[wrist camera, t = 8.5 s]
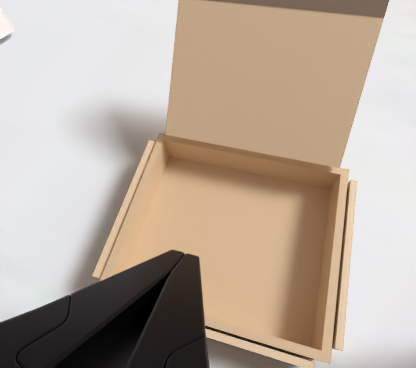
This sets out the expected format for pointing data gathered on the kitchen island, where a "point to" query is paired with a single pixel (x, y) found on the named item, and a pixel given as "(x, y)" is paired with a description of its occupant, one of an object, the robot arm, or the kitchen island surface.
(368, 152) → the kitchen island surface
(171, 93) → the flap
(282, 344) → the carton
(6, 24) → the white circle with bar
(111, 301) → the robot arm
